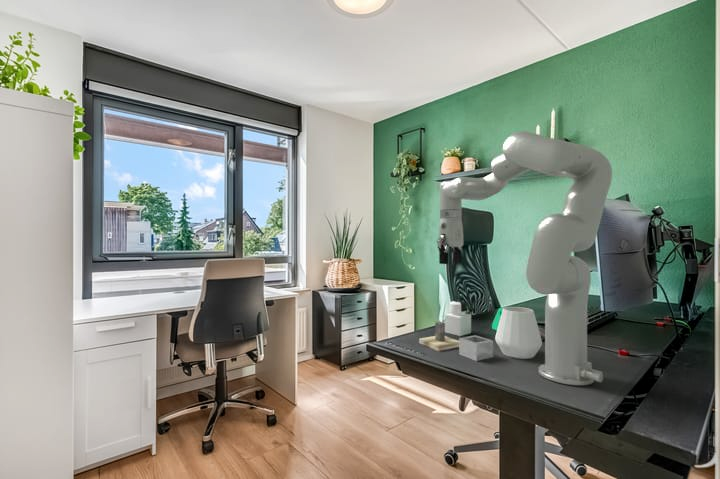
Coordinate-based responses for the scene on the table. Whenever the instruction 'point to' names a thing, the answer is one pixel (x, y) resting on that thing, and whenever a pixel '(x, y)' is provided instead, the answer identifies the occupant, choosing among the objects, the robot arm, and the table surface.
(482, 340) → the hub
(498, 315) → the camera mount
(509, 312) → the cup
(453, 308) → the medicine bottle
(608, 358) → the table surface
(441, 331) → the post block
